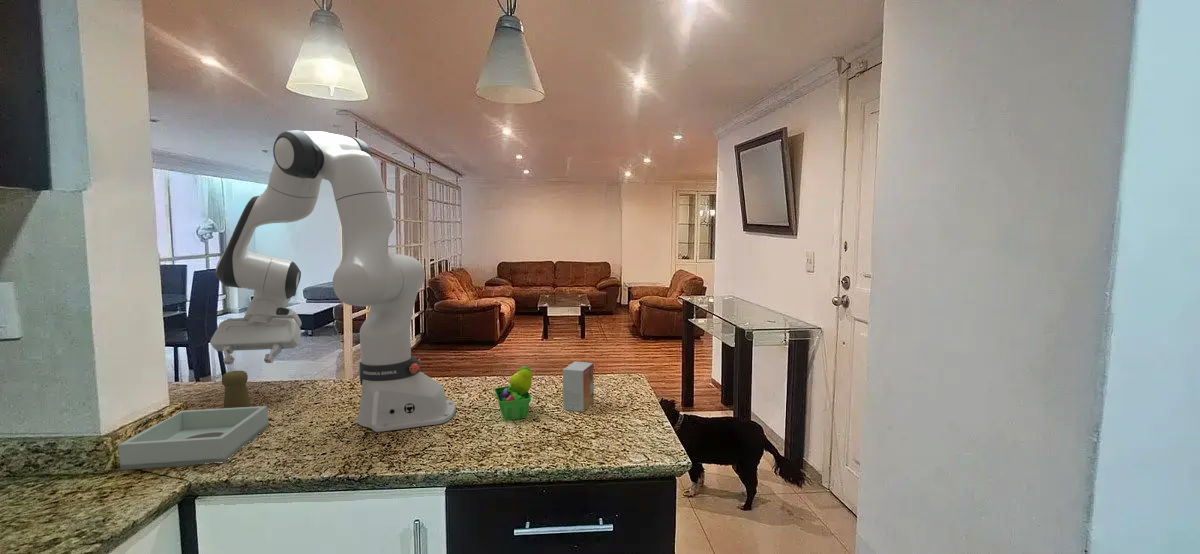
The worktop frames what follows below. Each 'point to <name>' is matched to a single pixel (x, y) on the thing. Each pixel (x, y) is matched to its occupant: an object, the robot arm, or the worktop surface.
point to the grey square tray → (193, 438)
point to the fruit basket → (515, 395)
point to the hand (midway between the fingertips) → (247, 362)
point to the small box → (578, 386)
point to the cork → (235, 389)
